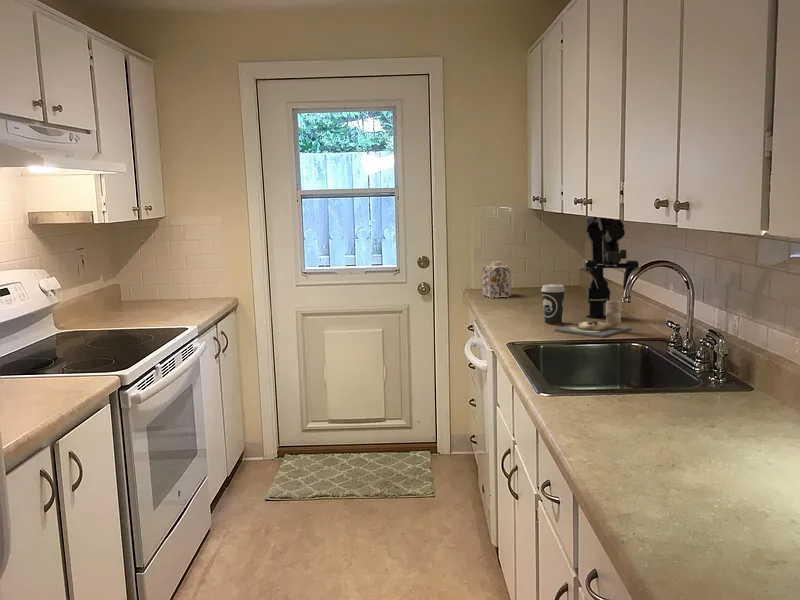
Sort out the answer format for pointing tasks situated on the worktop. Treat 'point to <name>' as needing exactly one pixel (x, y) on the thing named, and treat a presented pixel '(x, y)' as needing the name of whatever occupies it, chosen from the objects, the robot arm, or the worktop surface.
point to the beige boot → (611, 318)
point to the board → (597, 333)
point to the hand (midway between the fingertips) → (611, 288)
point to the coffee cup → (553, 303)
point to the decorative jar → (496, 280)
